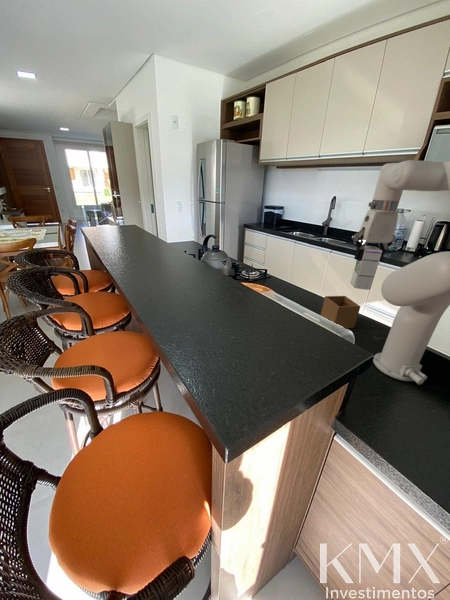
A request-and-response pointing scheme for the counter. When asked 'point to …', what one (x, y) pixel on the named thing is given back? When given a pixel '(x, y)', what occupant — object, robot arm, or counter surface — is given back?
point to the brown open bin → (340, 310)
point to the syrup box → (366, 268)
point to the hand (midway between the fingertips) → (367, 259)
